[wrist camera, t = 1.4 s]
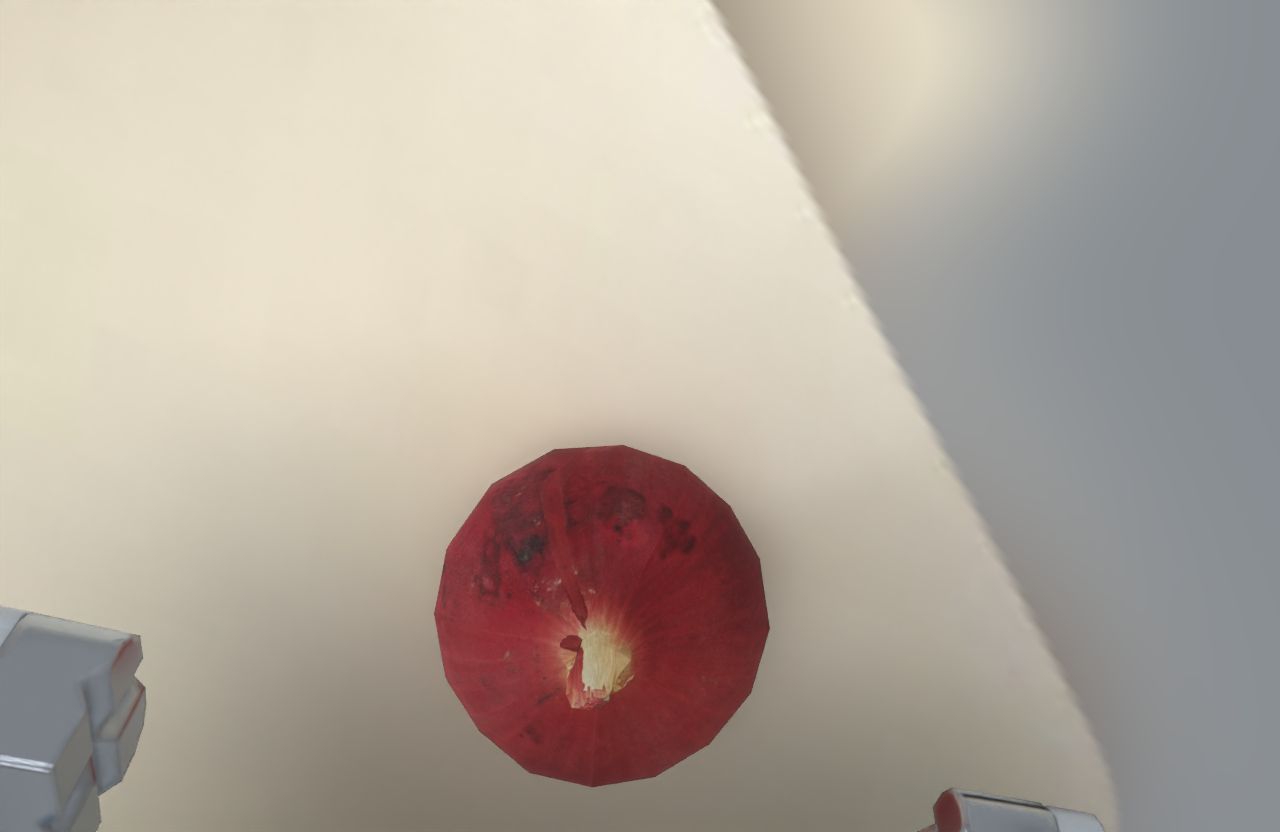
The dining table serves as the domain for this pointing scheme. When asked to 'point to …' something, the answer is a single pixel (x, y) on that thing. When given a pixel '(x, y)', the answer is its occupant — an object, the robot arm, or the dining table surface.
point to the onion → (601, 615)
